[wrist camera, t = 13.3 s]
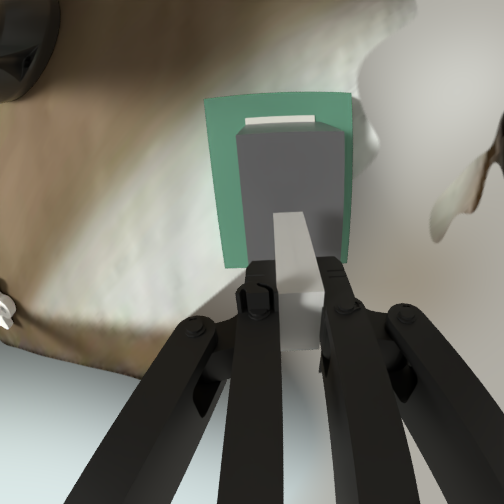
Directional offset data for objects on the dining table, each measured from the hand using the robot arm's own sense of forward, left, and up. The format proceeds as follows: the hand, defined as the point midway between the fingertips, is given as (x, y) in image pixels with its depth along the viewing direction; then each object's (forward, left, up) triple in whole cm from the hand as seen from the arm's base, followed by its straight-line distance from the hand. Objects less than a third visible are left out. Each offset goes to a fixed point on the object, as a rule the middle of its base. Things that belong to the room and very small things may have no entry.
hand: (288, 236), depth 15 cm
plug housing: (0, 0, -11) cm, 11 cm away
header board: (0, 0, -13) cm, 13 cm away
